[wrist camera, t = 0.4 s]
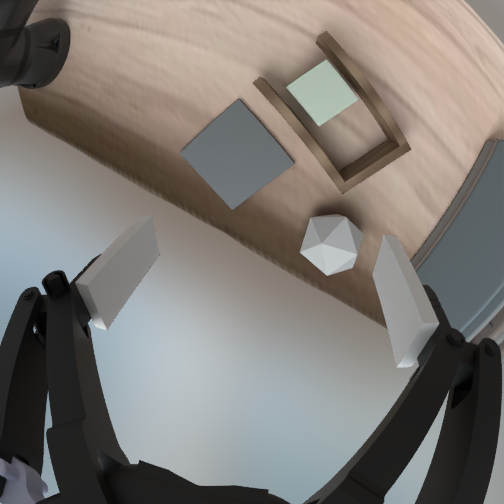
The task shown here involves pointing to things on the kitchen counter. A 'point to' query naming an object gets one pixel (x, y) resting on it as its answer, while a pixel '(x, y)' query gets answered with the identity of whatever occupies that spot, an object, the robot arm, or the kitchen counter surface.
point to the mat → (236, 155)
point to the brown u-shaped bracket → (355, 77)
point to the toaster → (471, 252)
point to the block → (322, 92)
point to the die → (331, 243)
